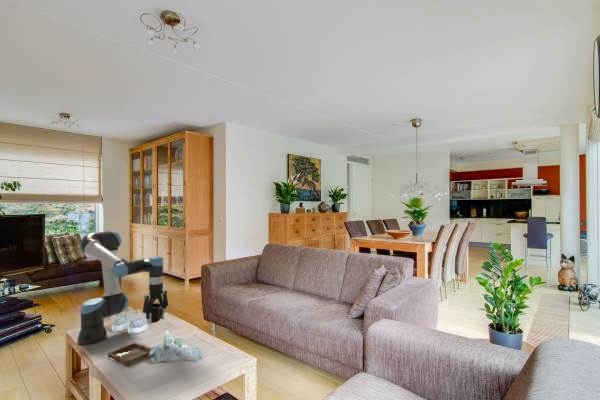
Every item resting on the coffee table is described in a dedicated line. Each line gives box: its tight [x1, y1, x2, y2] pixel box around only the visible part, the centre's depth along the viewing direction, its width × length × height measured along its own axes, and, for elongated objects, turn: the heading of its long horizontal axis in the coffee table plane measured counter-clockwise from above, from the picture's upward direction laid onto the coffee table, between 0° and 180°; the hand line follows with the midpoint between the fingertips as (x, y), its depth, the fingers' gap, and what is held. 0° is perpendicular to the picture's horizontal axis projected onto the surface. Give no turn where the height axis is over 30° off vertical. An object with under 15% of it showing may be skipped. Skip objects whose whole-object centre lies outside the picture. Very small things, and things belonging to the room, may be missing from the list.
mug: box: [150, 302, 163, 324], centre depth 186 cm, size 8×12×10 cm
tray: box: [107, 341, 153, 367], centre depth 169 cm, size 18×15×2 cm
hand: (155, 321), depth 186 cm, fingers closed on mug, 8 cm apart
